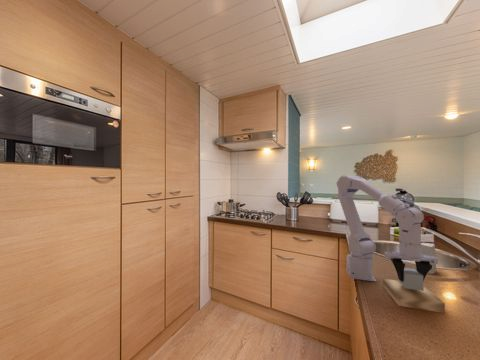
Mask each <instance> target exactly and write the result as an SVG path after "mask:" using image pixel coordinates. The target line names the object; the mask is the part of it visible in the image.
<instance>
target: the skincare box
mask: <svg viewBox="0 0 480 360" xmlns="http://www.w3.org/2000/svg"><path fill="white" fill-rule="evenodd" d="M421 255H428V256H434V257H436V255H437V254H436V245H435V244H434V243H428V242H421ZM436 258H437V257H436ZM430 264H431V265H432V269H431V270H430V271H429V272H428V273H427V274H429V275H434V274H436V272H437V264H434V263H430Z"/></svg>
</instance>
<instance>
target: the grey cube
mask: <svg viewBox="0 0 480 360" xmlns="http://www.w3.org/2000/svg"><path fill="white" fill-rule="evenodd" d="M397 281H399V282H400V283H401V284H402V285H403V286H404V287H405V288H407V289H414V290H421V291H424V287H423V286H424V282H423V275H422V274H420V273H419V272H418V271H417V270H416V268H407V267H406V268H405V267H404V279H403V282H402V281H400V280H399V279H398V278H397Z"/></svg>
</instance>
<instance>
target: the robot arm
mask: <svg viewBox="0 0 480 360" xmlns="http://www.w3.org/2000/svg"><path fill="white" fill-rule="evenodd" d="M336 186H337V189H338V190H337V192H338V193H337V195H338V196H337V197H338V199H339V202H340V205H341V209H342V212H343V214H344V217H345V221H346V223H347V227H348V229H349V233H350V234H349V236H348V238H347V241H348V250H349V252H350V253H347V254H346V268H345V270H346V272H347V275H348V277H349V278H350V279H353V280H362V281H369V282H377V279H376V278H375V276H373V256H374V253H375V252H376V251H377V246H376V243H375V242H374V240H372V238H371V236H370V234H369V233H368V232H366V231H365V229H364V226H363V224H362V220H361V218H360V215H359V212H358V210H357V209H358V208H357V207H356V204H355V201H354V195H355V194H356V193H357V192H358V191H359V190H360V191H362V192H364V193H365V194H367V195H368V196H370V197H372V198H373V199H375V200H376V201H377V203H378V206H380V207H381V208H382V209H384V210H385V211H387V212H388V213H389V214H391V215H392V216H394V218H395V221H396V222H397V223H398V238H399V239H398V242H399V243H398V251H384V253H383V254H384V256H383V257H384V258H385V259H386V260H390V262H392V265H393V266H394V268H395V271H396V274H397V280H398V279H399V280H400V281H402V282H403V279H404V268H405V266H406V264H405V262H403V261H410V262H411V261H412V262H414V263H415V270H416V271H418V272H419V273H420V274H422V275H423V283H424V282H425V279H426V277H427V275H428V274H429V273H428V272H429V271H430V270H431V269H432V265H431V264H430V263H434V264H436V265H438V263H439V258H438V257H434V256H428V255H421V243H422V232H421V231H422V230H421V229H422V228H421V223H422V222H424V219H425V215H424V213H423V211H422V210H420V209H419V208H418V207H415V206H414V207H412V206H411V205H410V204H409V203H405V202H404V201H402V200H400V199H399V198H398V196H397V195H396V194H391V193H390V194H389V193H387V194H385V193H384V192H382V191H381V190H379V189H378V188H376V187H375V186H374V185H373V184H371V183H370V182H368V181H367V179H366V178H363V177H362V176H361V175H341V176H339V178H338V180H337V181H336Z"/></svg>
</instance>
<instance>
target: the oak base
mask: <svg viewBox="0 0 480 360" xmlns="http://www.w3.org/2000/svg"><path fill="white" fill-rule="evenodd" d="M382 287H383V289H384V290H385V291H386V292H387V293H388V295H389V297H391V298H392V299H393V301H394V302H395V303H396V305H397V306H399V307H404V308H412V309H416V310H424V311H429V312H435V313H436V312H437V313H443V314H445V313H446V307H445V306H446V304H445V302H444V301H443V300H441V298H439V297H438V296H436V295H435V294H434V293H433V292H432V291H430V290H429V289H428V288H427V286H425V285H423V287H424V291H421V290H414V289H407V288H405V287H404V286H403V285H402V284H401V283H400V282H399V281H398V279H397V280H396V279H389V278H388V279H386V278H382Z"/></svg>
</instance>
